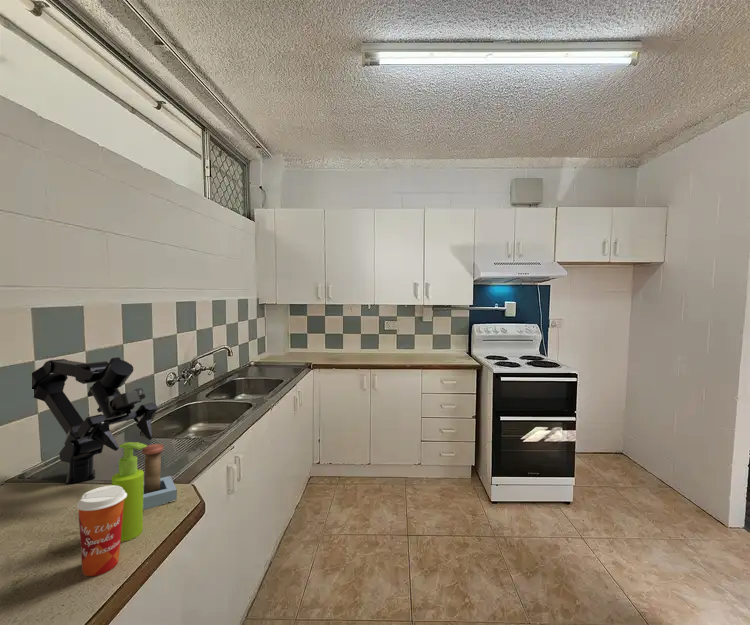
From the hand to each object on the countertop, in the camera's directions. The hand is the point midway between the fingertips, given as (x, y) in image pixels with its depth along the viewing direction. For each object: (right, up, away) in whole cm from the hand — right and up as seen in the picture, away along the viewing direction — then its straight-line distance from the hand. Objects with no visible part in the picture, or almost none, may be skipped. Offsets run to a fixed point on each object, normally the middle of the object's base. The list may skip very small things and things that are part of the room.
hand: (134, 444), depth 99 cm
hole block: (+6, -13, -3) cm, 15 cm away
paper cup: (+12, -14, -28) cm, 34 cm away
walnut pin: (+6, -13, -3) cm, 15 cm away
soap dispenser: (+11, -14, -18) cm, 25 cm away
